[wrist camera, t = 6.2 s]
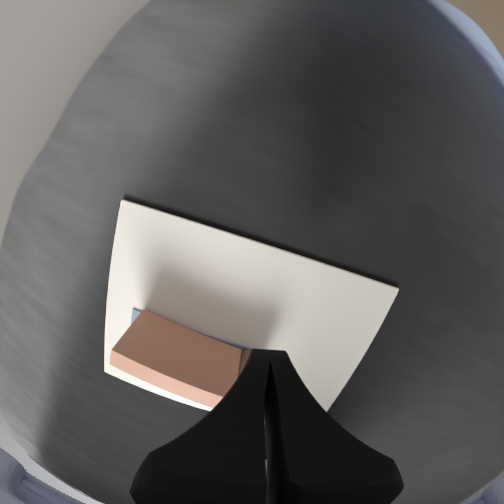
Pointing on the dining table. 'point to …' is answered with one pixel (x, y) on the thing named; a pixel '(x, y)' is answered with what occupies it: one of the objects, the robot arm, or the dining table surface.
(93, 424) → the dining table surface
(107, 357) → the card
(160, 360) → the fence panel
